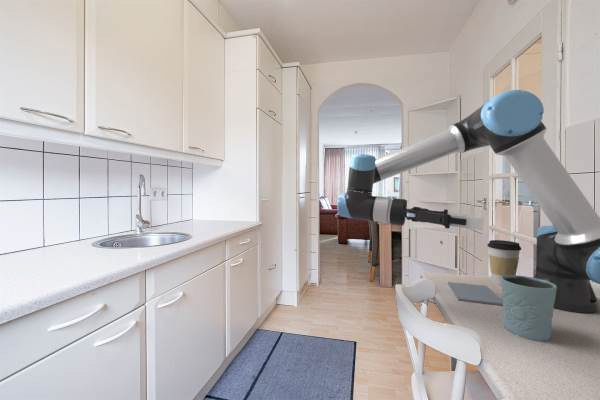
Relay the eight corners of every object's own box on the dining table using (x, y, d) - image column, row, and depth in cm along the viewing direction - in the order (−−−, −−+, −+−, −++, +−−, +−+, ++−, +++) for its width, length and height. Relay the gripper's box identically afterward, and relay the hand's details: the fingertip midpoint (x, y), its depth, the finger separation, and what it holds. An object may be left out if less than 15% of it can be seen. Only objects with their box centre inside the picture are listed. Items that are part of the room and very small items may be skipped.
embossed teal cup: (512, 339, 60) (513, 286, 60) (491, 318, 70) (493, 272, 70) (566, 345, 58) (569, 290, 58) (537, 323, 68) (539, 276, 67)
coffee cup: (527, 286, 94) (528, 244, 94) (506, 289, 92) (507, 245, 91) (499, 278, 104) (500, 239, 103) (479, 280, 101) (480, 240, 100)
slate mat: (486, 287, 93) (486, 285, 93) (505, 306, 78) (505, 303, 78) (447, 283, 97) (447, 281, 97) (458, 300, 82) (458, 298, 82)
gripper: (394, 220, 89) (470, 231, 80) (382, 228, 67) (484, 244, 57) (397, 198, 89) (473, 206, 79) (385, 197, 66) (489, 208, 57)
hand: (478, 221), depth 68 cm, fingers open, 13 cm apart
